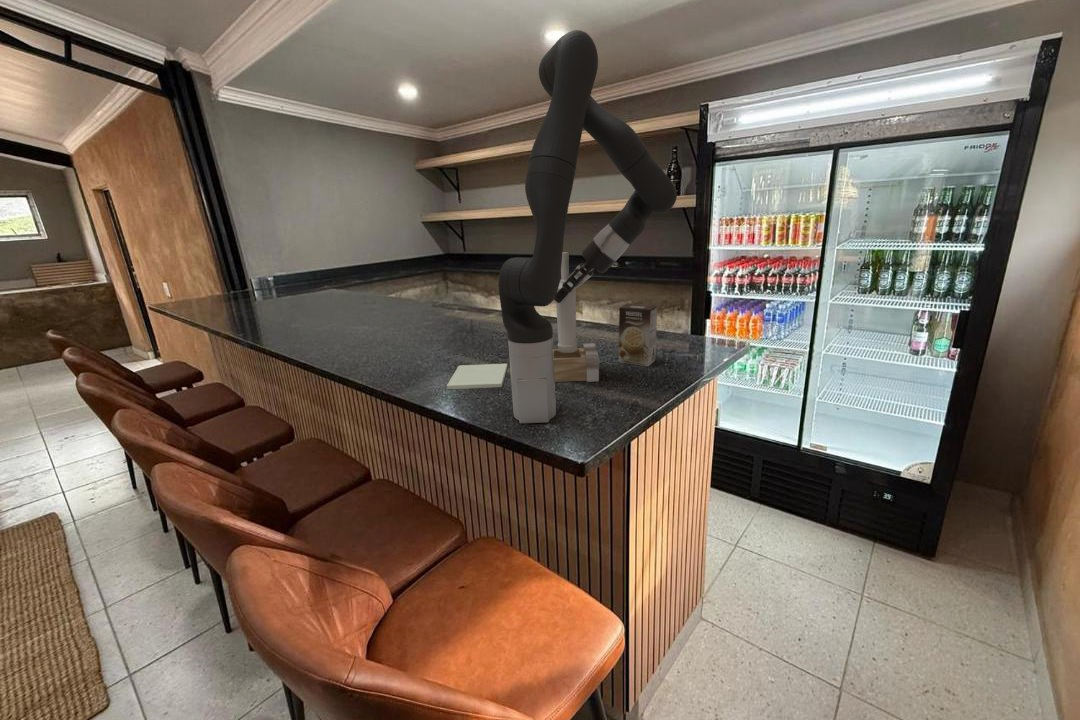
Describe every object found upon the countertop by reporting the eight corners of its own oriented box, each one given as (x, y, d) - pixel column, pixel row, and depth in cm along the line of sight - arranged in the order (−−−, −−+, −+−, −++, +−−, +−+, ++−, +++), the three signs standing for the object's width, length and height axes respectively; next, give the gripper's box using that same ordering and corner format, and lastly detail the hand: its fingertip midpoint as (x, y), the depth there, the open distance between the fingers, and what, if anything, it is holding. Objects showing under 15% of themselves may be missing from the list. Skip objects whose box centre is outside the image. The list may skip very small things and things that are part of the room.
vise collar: (598, 381, 114) (598, 355, 112) (538, 383, 115) (537, 357, 113) (594, 365, 126) (593, 341, 124) (539, 367, 127) (538, 343, 125)
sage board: (501, 387, 114) (501, 383, 113) (447, 389, 114) (446, 385, 114) (507, 366, 129) (507, 363, 129) (459, 368, 129) (458, 365, 129)
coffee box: (617, 362, 127) (617, 307, 123) (625, 356, 133) (626, 302, 128) (648, 367, 123) (650, 309, 118) (656, 360, 128) (658, 304, 123)
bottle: (571, 354, 114) (568, 253, 107) (553, 351, 117) (550, 253, 109) (580, 349, 118) (578, 251, 111) (563, 347, 121) (560, 251, 113)
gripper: (599, 236, 113) (555, 284, 120) (589, 238, 100) (540, 292, 107) (620, 257, 113) (575, 303, 120) (612, 262, 100) (562, 314, 107)
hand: (558, 298), depth 114 cm, fingers closed on bottle, 5 cm apart
